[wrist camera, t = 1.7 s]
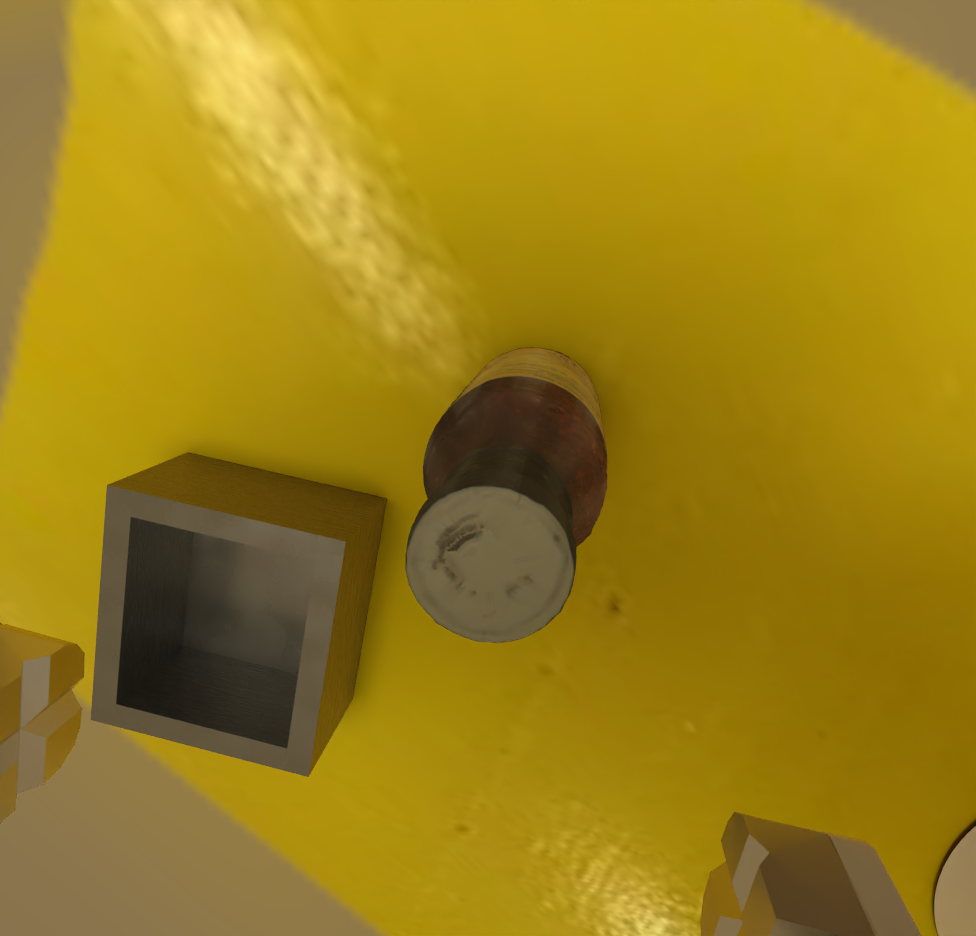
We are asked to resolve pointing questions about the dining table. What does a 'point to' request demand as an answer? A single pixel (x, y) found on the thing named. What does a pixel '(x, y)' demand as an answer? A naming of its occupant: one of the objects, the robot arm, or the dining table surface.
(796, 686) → the dining table surface
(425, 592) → the sauce bottle
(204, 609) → the condiment sleeve
